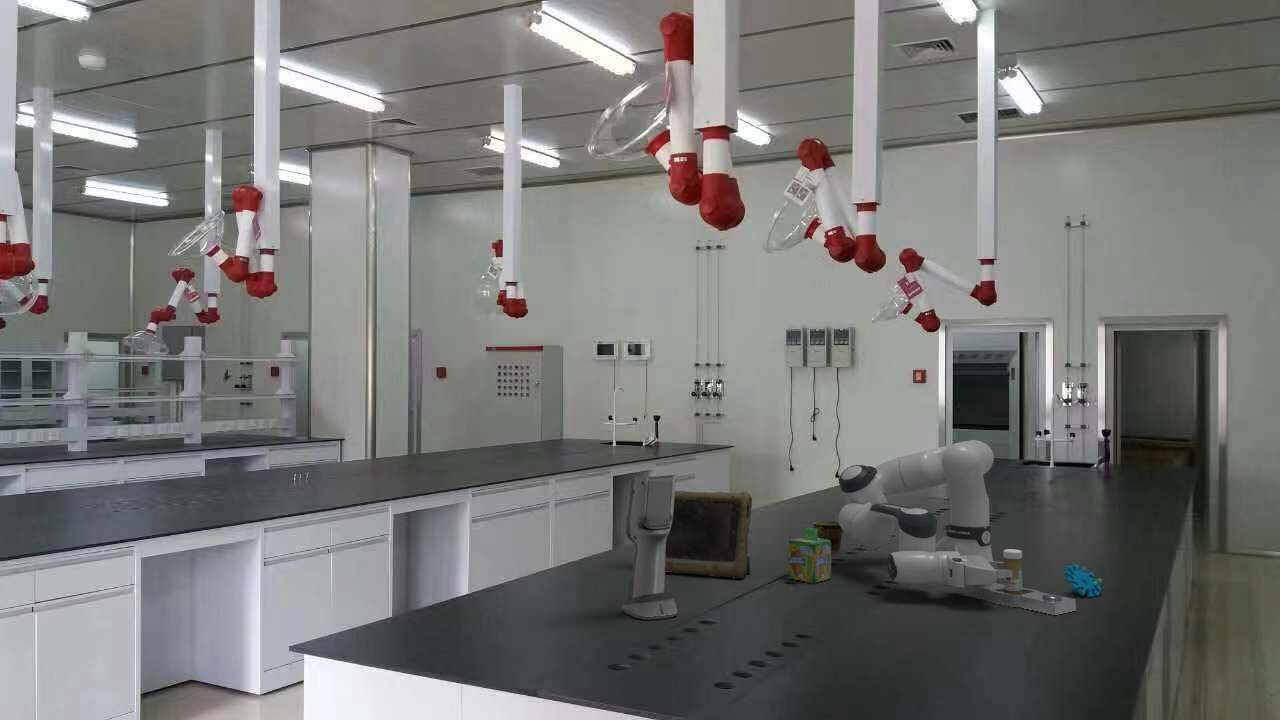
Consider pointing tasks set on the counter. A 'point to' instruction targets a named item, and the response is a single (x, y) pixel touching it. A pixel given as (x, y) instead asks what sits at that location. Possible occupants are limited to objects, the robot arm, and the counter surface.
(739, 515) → the brown frame
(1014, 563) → the sprinkles bottle
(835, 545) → the brown tapered cylinder
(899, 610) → the counter surface
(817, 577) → the chalk box
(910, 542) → the robot arm
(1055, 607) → the grey long flat block
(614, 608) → the counter surface
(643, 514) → the thermal camera
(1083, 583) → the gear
